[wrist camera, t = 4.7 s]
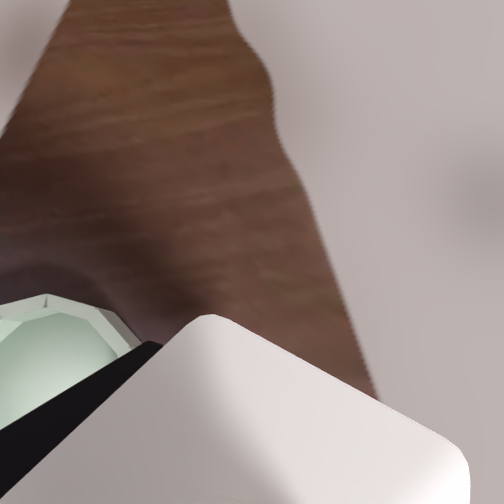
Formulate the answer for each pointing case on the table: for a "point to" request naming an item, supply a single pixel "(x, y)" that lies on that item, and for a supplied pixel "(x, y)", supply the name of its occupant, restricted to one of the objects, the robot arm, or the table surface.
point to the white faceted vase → (243, 436)
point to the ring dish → (53, 349)
